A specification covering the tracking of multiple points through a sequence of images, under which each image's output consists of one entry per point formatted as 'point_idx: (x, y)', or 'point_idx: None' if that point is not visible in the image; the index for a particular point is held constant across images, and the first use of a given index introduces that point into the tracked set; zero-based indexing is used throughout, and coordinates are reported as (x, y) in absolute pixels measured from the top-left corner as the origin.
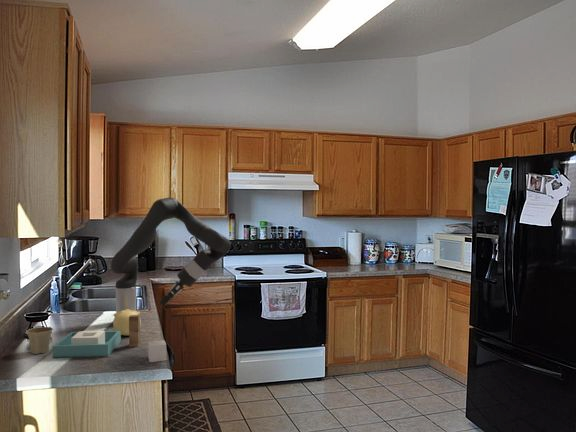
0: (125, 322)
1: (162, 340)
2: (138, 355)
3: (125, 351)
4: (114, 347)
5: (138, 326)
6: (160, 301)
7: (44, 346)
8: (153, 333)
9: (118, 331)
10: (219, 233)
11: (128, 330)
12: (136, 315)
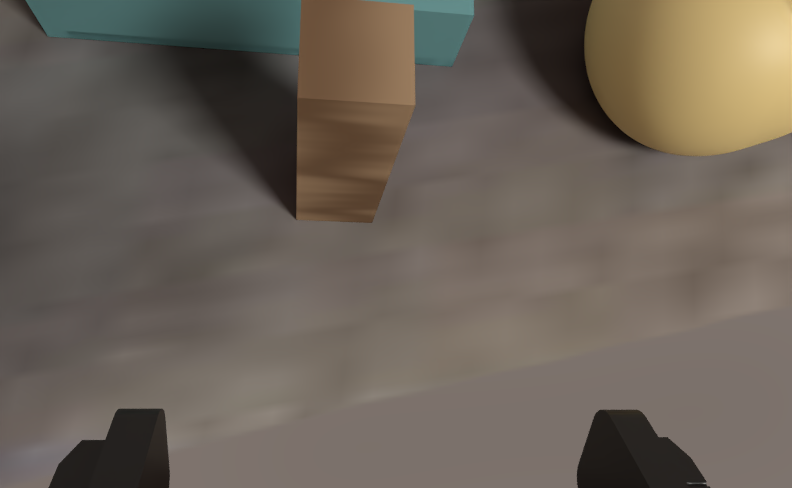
0: (624, 12)
1: None
2: (12, 261)
3: (162, 140)
4: (250, 45)
5: (310, 153)
6: (118, 413)
7: None
8: (685, 282)
9: (453, 1)
10: None
11: (596, 76)
12: (371, 71)
